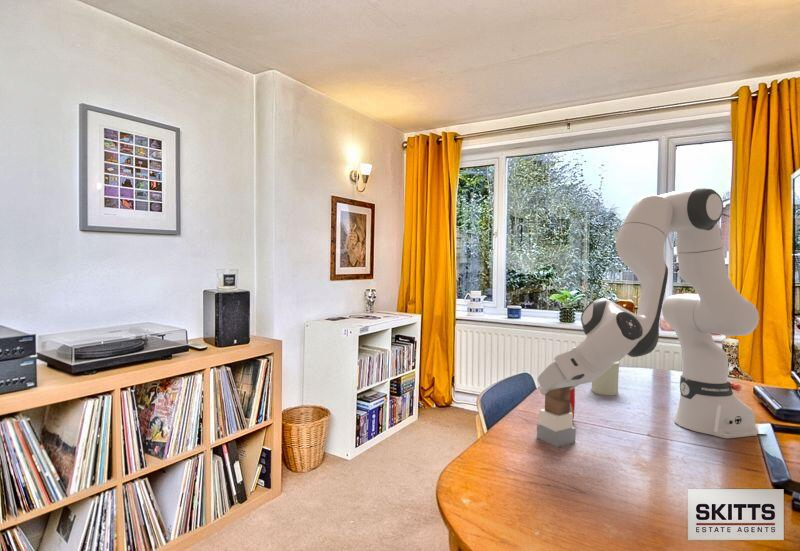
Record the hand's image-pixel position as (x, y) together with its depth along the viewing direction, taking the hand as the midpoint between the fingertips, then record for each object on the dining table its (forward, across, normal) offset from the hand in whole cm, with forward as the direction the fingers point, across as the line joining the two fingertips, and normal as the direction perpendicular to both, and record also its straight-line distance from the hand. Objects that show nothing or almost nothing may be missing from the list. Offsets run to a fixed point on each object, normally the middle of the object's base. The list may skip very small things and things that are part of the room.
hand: (555, 390), depth 120 cm
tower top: (+6, 0, +7) cm, 10 cm away
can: (+25, -52, -5) cm, 57 cm away
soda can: (+16, -14, +3) cm, 21 cm away
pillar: (+3, 0, +5) cm, 6 cm away
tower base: (+9, 0, +10) cm, 14 cm away
